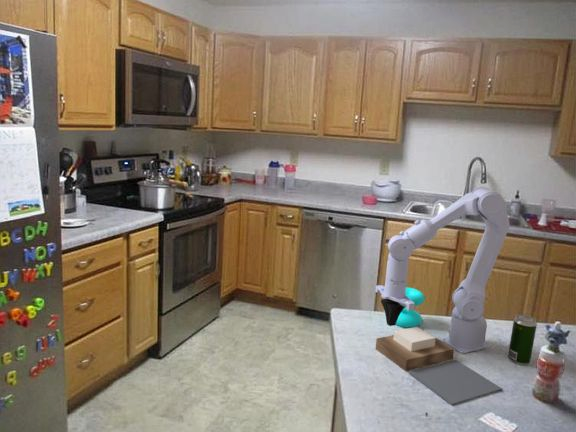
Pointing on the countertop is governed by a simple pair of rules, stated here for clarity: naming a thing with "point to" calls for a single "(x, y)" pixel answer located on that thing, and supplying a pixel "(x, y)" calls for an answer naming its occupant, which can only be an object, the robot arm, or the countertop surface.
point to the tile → (414, 338)
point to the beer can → (522, 339)
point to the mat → (454, 382)
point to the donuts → (411, 316)
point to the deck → (414, 353)
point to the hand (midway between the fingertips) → (391, 324)
